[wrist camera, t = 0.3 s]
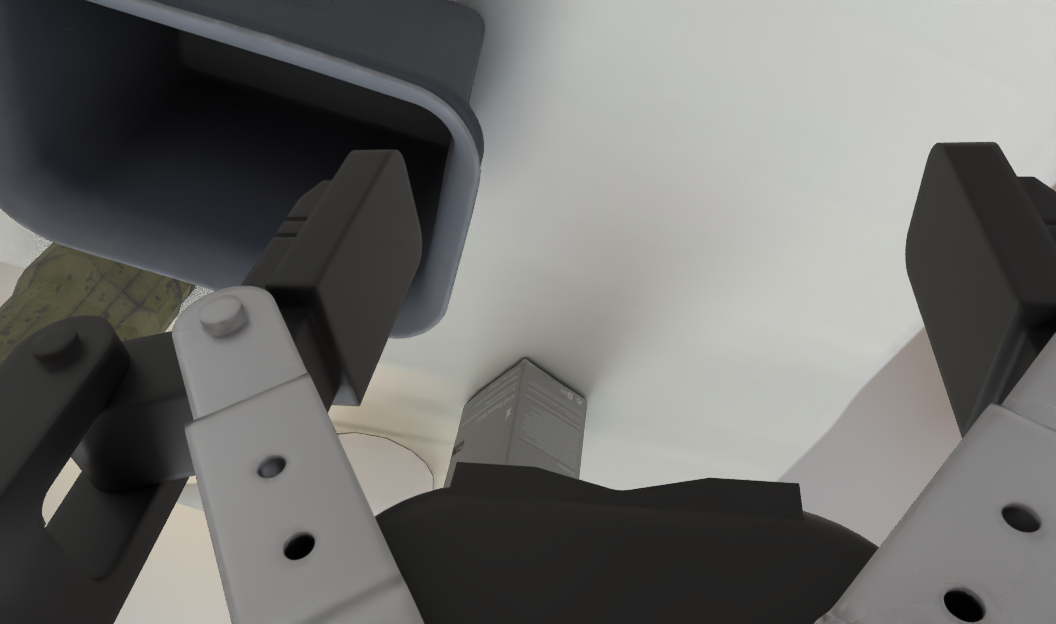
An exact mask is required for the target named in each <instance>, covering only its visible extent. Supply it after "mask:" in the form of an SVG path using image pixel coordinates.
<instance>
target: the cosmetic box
mask: <svg viewBox="0 0 1056 624" xmlns="http://www.w3.org/2000/svg"><path fill="white" fill-rule="evenodd" d="M586 409H587V401H586V400H585V399H583V398H582V397H581V396H579V395H578V394H576V393H575V392H573V391H572V390H570V389H569V388H567V387H565V386H564V385H562V384H561V383H559V382H558V381H556V380H555V379H553V378H552V377H550V376H549V375H548V374H546V373H545V372H543V371H542V370H540V369H539V368H537V367H536V366H535V365H533V364H532V363H531V362H529V361H528V360H527V359H523V360H522V361H521V362H520V363H519V364H518V365H517V366H515V367H514V368H512V369H511V370H509V371H508V372H507V373H505V374H504V375H502V376H501V377H499V378H498V379H497V380H495V381H494V382H493V383H491V384H490V385H489V386H487V387H486V388H485V389H483V390H482V391H481V392H480V393H478V394H477V395H476V396H475V397H474V398H473V399H471V400H470V401H469V402H468V403H467V404H466V405H465V406H464V409H463V413H462V416H461V420H460V424H459V428H458V433H457V436H456V440H455V444H454V448H453V452H452V456H451V460H450V464H449V468H448V472H447V476H446V480H445V484H444V487H443V488H446V487H450V484H451V481H452V477H453V474H454V470H455V466H456V463H457V462H469V463H484V464H500V465H516V466H532V467H538V468H542V469H545V470H548V471H552V472H555V473H559V474H562V475H565V476H569V477H572V478H575V479H579V474H580V465H581V455H582V446H583V437H584V428H585V418H586Z"/></svg>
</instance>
